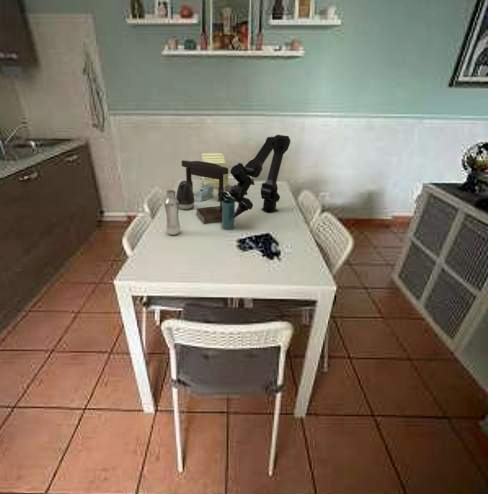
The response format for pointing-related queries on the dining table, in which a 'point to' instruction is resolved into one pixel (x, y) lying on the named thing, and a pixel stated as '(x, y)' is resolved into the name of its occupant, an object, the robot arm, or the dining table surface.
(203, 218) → the holder
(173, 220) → the plastic bottle
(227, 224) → the tumbler
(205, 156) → the pale yellow striped pieces
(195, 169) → the stool
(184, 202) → the black rounded dome
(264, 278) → the dining table surface
